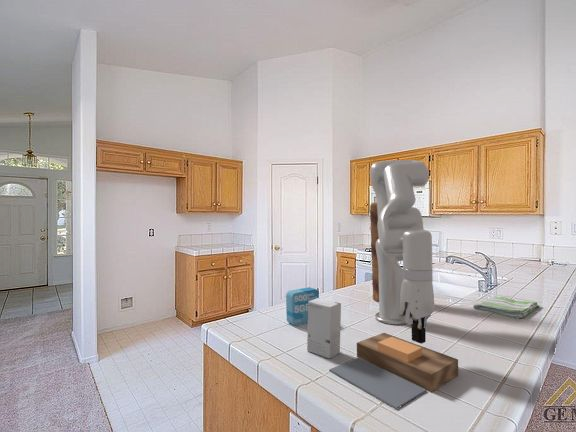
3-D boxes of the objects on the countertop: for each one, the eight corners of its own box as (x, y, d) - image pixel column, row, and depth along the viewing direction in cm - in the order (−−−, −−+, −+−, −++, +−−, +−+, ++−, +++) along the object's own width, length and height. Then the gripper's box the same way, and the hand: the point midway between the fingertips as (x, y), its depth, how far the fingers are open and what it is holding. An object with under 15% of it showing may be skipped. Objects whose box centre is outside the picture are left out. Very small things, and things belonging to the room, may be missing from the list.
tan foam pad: (377, 349, 83) (377, 342, 83) (391, 343, 87) (391, 336, 87) (408, 362, 76) (407, 354, 76) (422, 355, 79) (421, 347, 79)
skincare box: (306, 351, 92) (305, 301, 92) (318, 344, 96) (317, 296, 96) (331, 359, 86) (330, 306, 86) (342, 352, 91) (341, 301, 91)
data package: (292, 326, 112) (292, 293, 112) (286, 323, 116) (285, 291, 116) (319, 320, 119) (319, 288, 118) (312, 317, 122) (312, 286, 122)
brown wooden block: (384, 345, 95) (383, 332, 95) (458, 375, 77) (458, 359, 77) (356, 356, 88) (356, 342, 88) (431, 392, 70) (431, 374, 70)
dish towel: (471, 310, 129) (471, 301, 129) (493, 299, 143) (493, 292, 143) (522, 321, 115) (522, 311, 115) (540, 308, 129) (540, 300, 129)
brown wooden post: (375, 295, 152) (374, 203, 152) (397, 298, 146) (396, 202, 145) (367, 300, 144) (365, 202, 143) (390, 304, 137) (389, 201, 137)
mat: (358, 358, 87) (358, 357, 87) (426, 391, 70) (426, 389, 70) (329, 370, 80) (329, 369, 80) (396, 409, 64) (396, 407, 64)
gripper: (420, 269, 94) (421, 331, 94) (389, 276, 85) (390, 344, 85) (445, 273, 87) (446, 339, 88) (414, 281, 79) (415, 353, 79)
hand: (418, 341), depth 86 cm, fingers closed
